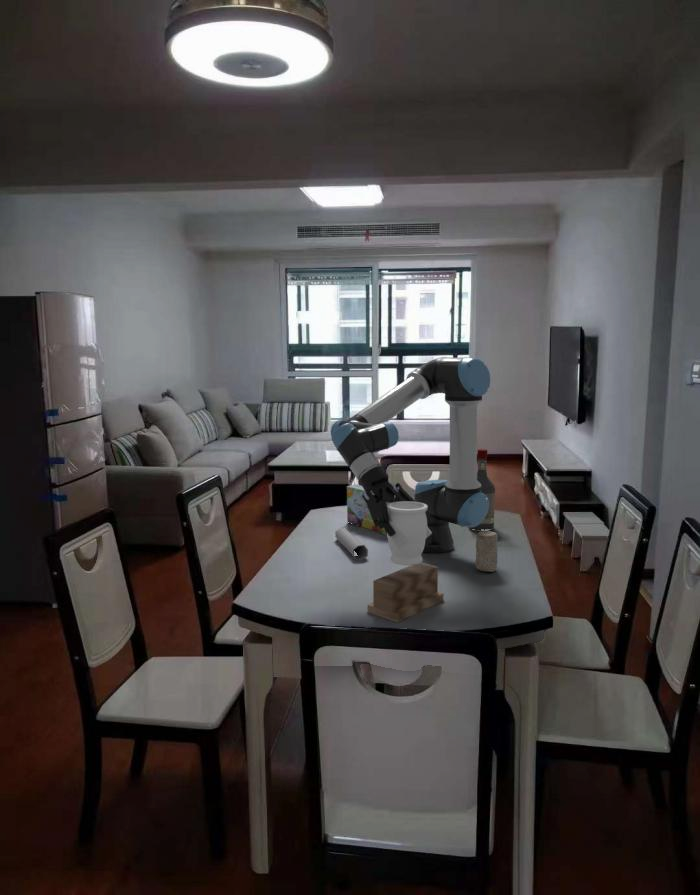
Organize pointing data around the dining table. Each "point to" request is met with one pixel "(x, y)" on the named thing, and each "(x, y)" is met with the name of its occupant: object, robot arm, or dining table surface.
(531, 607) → the dining table surface
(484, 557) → the carving
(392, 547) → the jar
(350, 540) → the tube
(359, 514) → the snack box
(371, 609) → the wooden block
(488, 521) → the liquor
